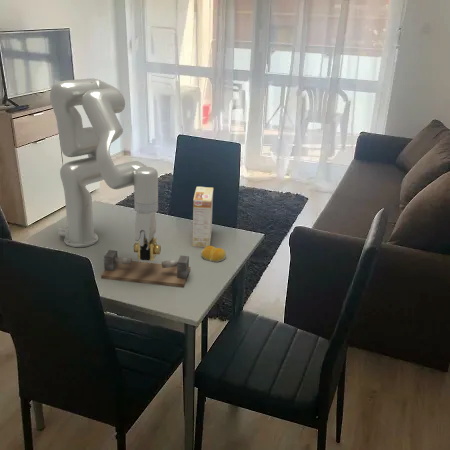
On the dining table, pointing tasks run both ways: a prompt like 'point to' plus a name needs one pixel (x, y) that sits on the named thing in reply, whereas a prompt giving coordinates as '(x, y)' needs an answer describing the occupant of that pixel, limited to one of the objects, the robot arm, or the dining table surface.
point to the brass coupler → (152, 246)
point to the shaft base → (146, 270)
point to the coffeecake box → (202, 216)
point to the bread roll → (213, 254)
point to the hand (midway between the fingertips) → (147, 255)
